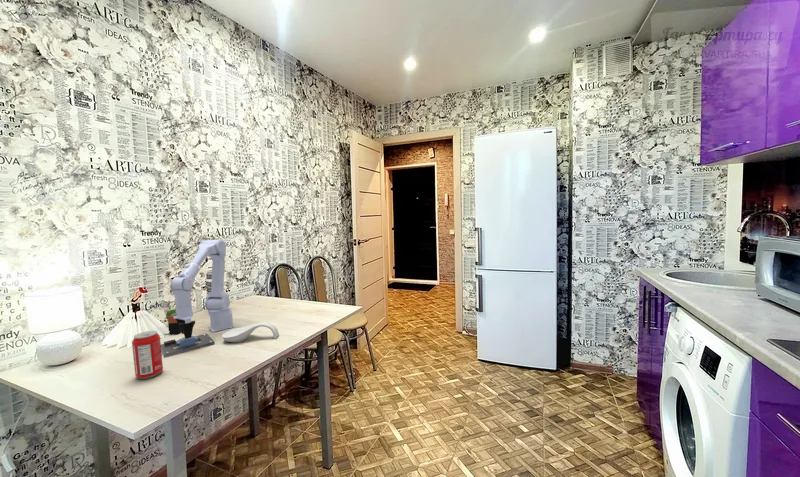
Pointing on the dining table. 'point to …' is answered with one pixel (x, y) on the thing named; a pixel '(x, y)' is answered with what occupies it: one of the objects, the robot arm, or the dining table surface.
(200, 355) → the dining table surface
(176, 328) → the battery
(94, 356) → the dining table surface
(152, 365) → the soda can
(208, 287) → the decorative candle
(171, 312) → the bell pepper
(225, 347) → the dining table surface
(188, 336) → the robot arm
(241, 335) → the spoon rest
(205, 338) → the plate
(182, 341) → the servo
